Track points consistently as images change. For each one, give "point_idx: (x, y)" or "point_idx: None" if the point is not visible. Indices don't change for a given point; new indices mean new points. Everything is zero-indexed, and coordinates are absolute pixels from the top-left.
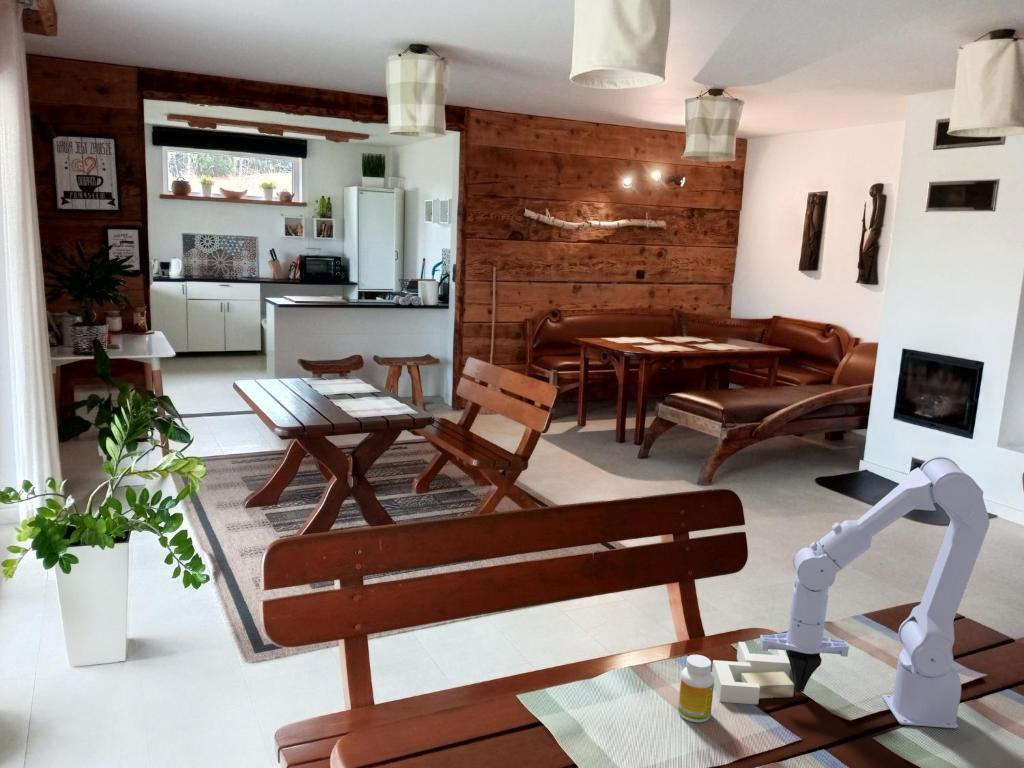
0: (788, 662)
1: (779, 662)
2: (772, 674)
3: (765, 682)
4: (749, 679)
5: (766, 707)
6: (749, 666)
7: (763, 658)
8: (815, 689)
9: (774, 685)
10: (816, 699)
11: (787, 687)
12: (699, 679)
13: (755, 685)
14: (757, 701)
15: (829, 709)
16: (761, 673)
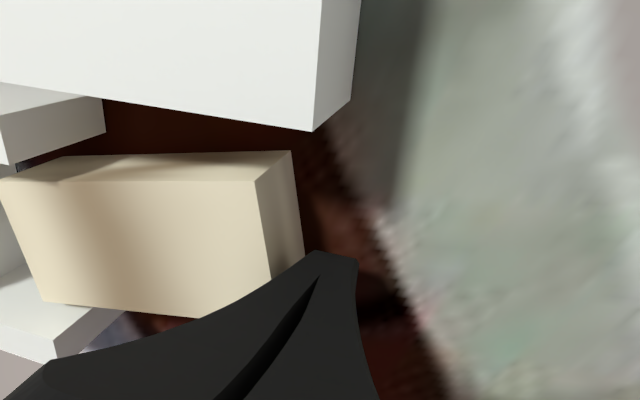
0: (298, 116)
1: (216, 113)
2: (167, 209)
3: (116, 282)
4: (36, 245)
5: (162, 327)
6: (2, 162)
7: (92, 43)
8: (494, 224)
9: (161, 312)
10: (438, 315)
11: None
12: None
13: (39, 350)
14: (117, 313)
15: (464, 395)
16: (101, 190)
